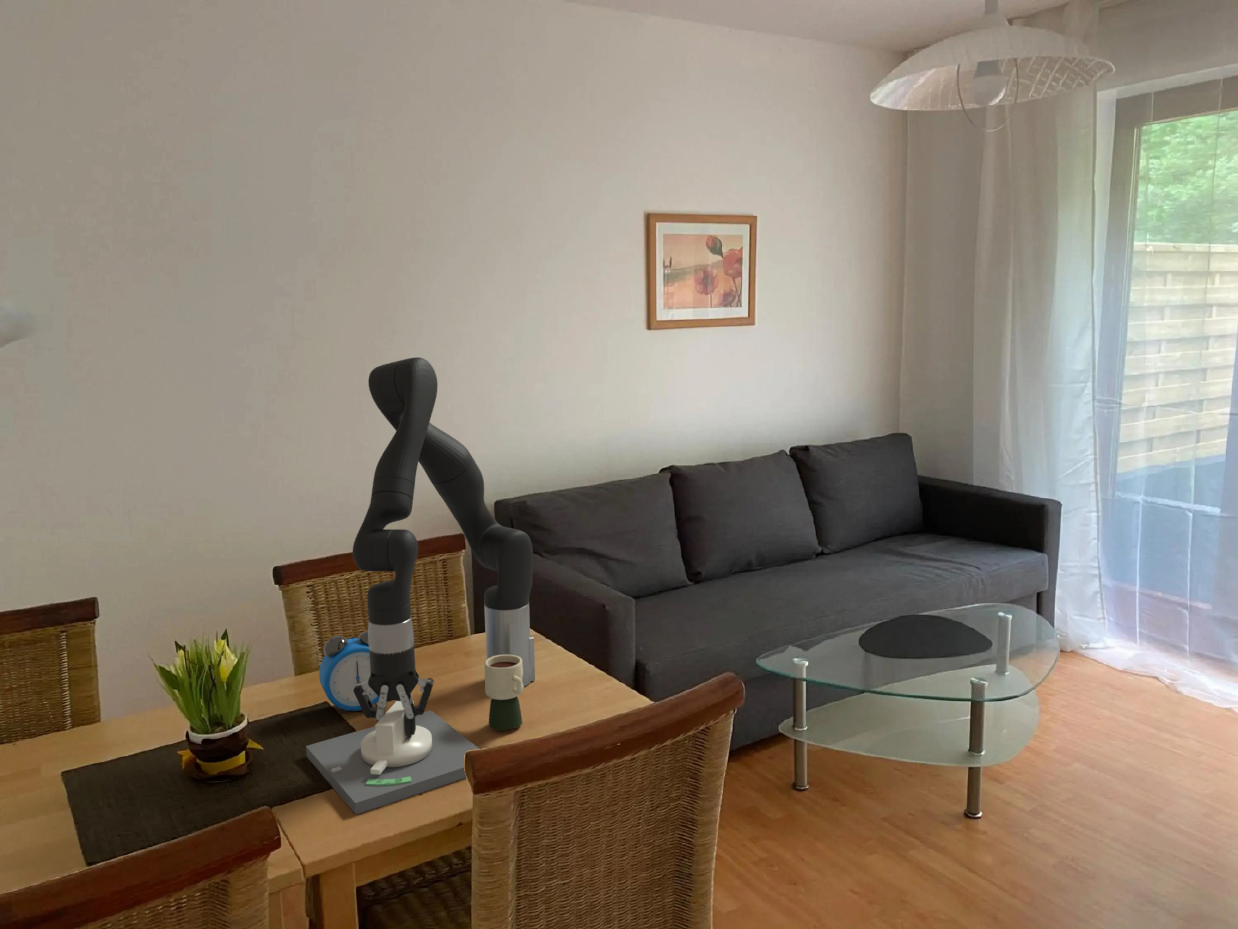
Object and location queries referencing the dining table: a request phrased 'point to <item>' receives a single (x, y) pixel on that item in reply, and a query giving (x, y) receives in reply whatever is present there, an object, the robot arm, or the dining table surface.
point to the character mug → (504, 690)
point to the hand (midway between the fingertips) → (397, 736)
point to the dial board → (394, 783)
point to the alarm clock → (346, 670)
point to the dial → (394, 742)
